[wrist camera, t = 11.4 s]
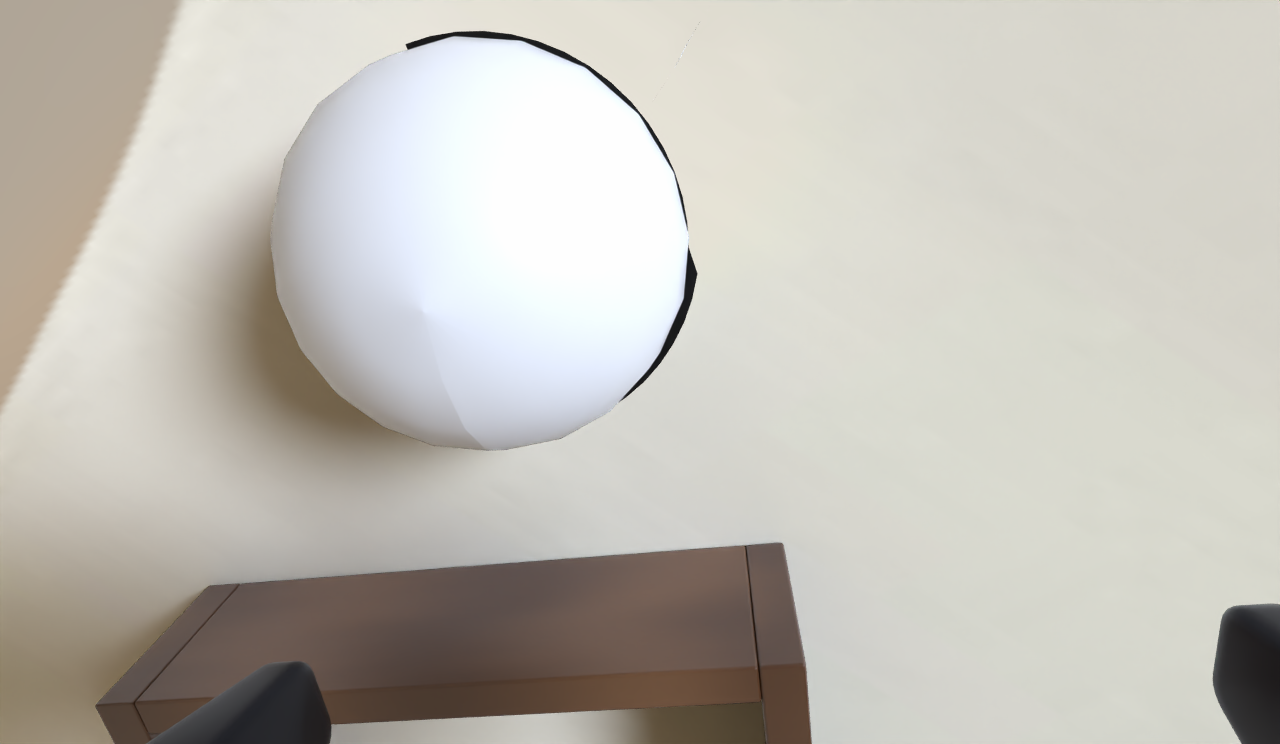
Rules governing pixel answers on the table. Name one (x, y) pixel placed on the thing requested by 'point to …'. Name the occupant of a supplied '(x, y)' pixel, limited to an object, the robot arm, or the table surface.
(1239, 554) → the table surface
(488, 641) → the crate
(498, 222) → the seamed sphere
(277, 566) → the table surface
